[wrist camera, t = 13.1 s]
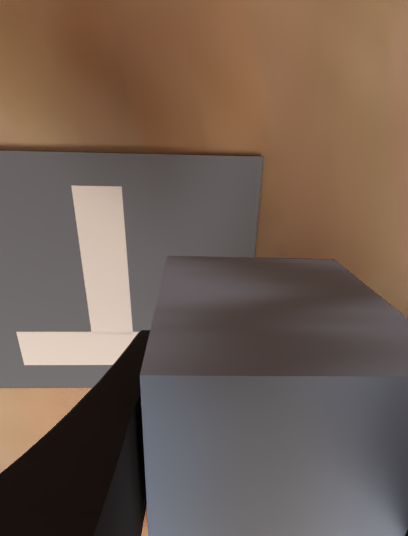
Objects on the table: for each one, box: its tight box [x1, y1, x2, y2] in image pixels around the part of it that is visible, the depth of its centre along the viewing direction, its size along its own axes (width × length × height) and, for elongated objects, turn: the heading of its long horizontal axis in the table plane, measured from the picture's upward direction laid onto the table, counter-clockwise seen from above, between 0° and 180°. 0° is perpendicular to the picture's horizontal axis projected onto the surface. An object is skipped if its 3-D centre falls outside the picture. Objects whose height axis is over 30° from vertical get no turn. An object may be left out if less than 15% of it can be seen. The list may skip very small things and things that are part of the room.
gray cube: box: [140, 256, 408, 536], centre depth 8 cm, size 5×5×5 cm
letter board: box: [0, 150, 264, 388], centre depth 17 cm, size 16×14×1 cm
